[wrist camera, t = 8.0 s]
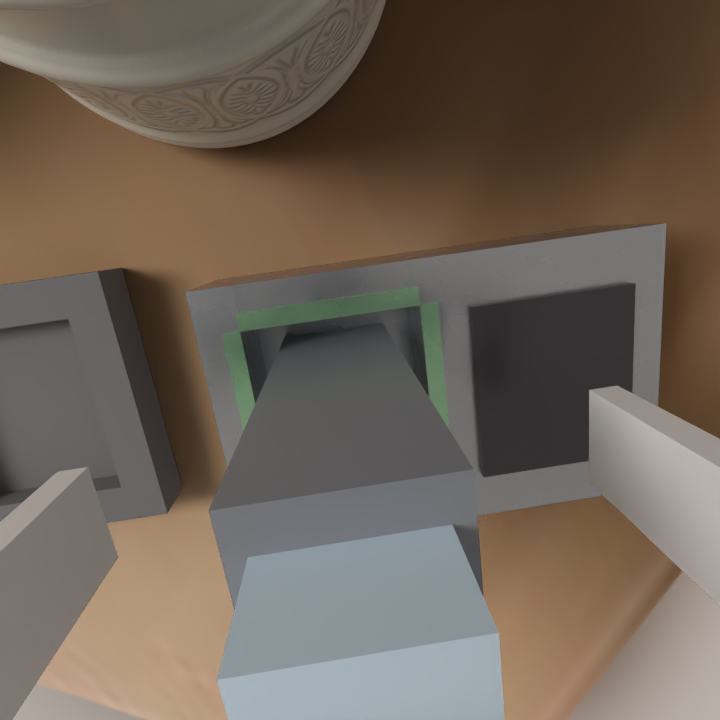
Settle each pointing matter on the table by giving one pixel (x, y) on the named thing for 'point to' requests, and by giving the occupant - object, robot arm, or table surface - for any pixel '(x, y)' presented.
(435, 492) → the plug
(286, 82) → the jar
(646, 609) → the table surface
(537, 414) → the port panel
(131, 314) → the holster
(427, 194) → the table surface
